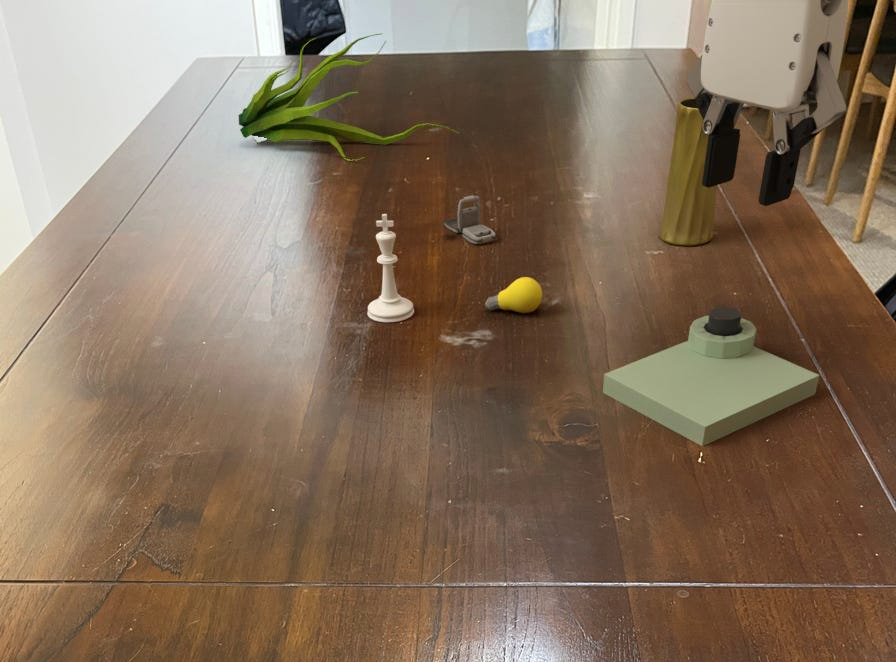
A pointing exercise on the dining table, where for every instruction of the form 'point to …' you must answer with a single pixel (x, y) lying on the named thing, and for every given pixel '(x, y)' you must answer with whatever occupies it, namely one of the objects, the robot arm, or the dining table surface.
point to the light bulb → (517, 296)
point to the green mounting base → (710, 383)
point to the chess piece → (388, 281)
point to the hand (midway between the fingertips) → (745, 190)
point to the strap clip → (470, 223)
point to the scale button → (724, 321)
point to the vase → (688, 183)
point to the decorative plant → (305, 110)
